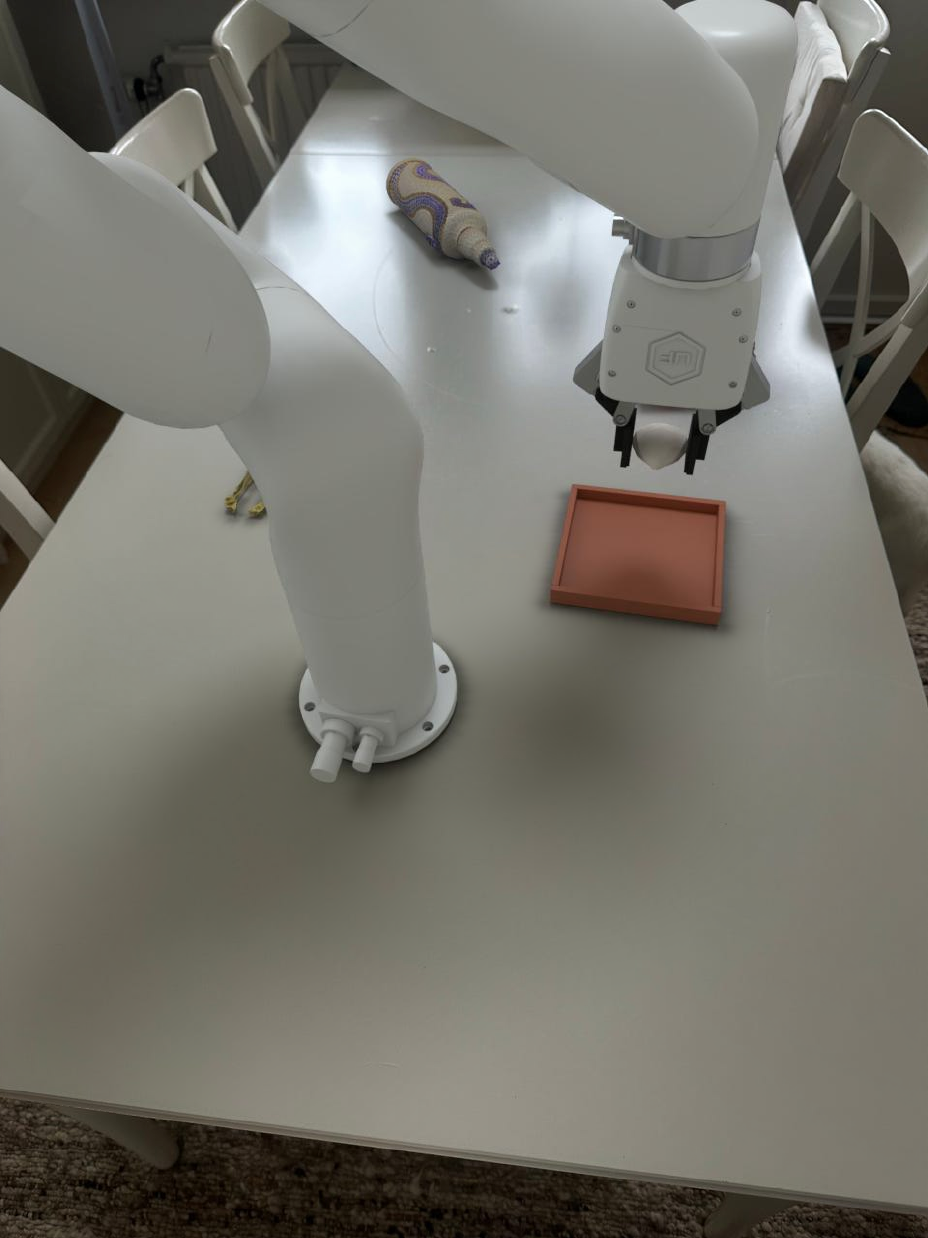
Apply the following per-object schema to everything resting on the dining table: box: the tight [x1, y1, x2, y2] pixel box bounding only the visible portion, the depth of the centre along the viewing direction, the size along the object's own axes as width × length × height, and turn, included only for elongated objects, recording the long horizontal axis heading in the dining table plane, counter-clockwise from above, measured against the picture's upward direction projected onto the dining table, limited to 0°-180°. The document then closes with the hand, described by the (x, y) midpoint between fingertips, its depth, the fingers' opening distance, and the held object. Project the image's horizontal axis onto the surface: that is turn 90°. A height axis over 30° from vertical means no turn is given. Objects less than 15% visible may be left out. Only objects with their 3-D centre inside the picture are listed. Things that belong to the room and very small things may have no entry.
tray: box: [549, 483, 727, 626], centre depth 77 cm, size 14×14×2 cm
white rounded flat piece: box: [632, 422, 688, 471], centre depth 68 cm, size 4×5×2 cm
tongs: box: [223, 470, 266, 517], centre depth 87 cm, size 4×13×2 cm, turn 171°
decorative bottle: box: [385, 157, 501, 271], centre depth 112 cm, size 26×8×7 cm, turn 26°
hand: (657, 458), depth 69 cm, fingers closed on white rounded flat piece, 4 cm apart
